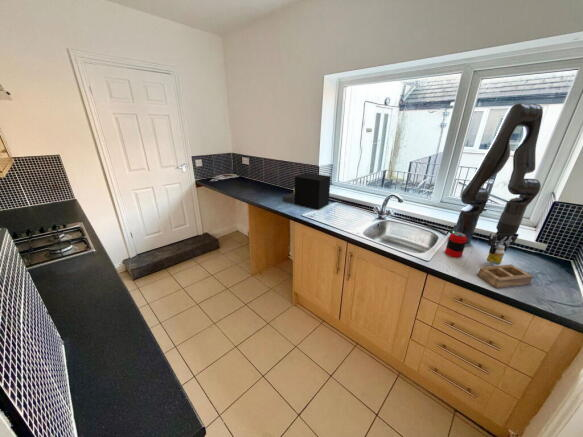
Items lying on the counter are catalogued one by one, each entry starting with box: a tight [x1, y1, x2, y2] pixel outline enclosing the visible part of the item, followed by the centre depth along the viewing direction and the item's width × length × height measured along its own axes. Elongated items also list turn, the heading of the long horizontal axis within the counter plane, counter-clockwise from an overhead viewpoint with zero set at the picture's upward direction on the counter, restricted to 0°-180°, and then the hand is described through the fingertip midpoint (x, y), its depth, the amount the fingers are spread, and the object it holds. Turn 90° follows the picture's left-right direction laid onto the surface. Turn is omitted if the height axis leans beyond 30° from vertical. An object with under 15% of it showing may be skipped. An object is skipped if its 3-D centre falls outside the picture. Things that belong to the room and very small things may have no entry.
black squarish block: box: [282, 172, 332, 211], centre depth 202 cm, size 18×35×24 cm, turn 55°
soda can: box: [444, 232, 467, 259], centre depth 128 cm, size 8×8×12 cm
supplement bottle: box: [486, 243, 506, 266], centre depth 118 cm, size 5×5×10 cm
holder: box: [477, 264, 534, 289], centre depth 110 cm, size 10×17×4 cm, turn 100°
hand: (496, 252), depth 118 cm, fingers closed on supplement bottle, 5 cm apart
